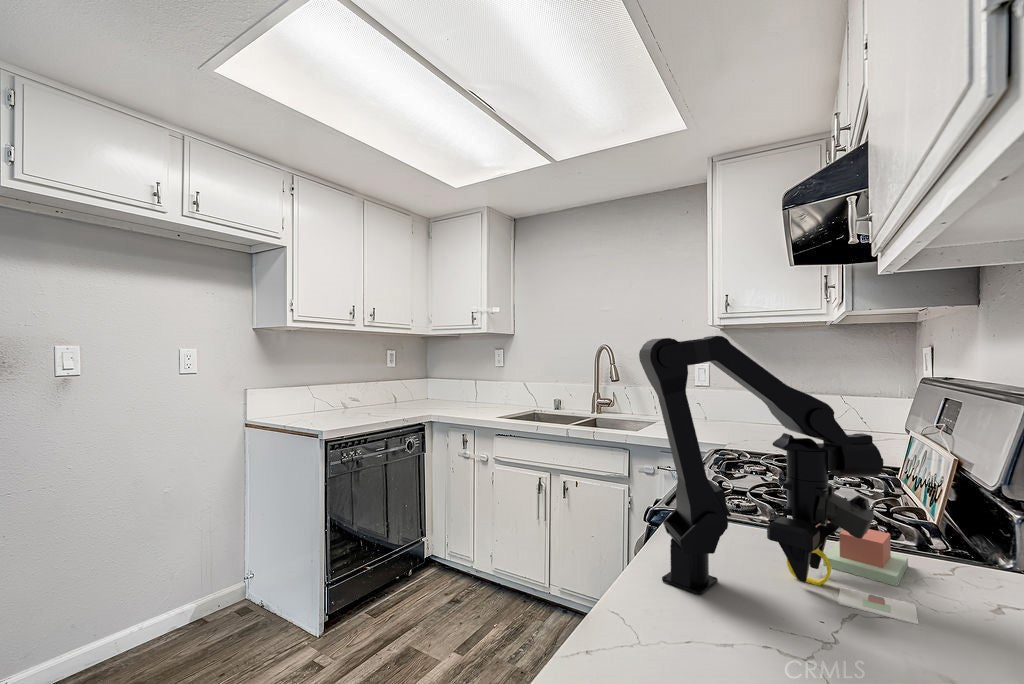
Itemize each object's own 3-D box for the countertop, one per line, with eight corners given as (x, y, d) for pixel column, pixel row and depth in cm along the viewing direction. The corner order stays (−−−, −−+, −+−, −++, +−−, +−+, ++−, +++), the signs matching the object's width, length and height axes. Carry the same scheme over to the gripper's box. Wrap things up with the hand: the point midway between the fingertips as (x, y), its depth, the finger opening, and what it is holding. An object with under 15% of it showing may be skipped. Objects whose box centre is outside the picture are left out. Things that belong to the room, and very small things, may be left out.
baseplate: (896, 586, 76) (896, 576, 76) (823, 565, 83) (823, 556, 83) (908, 566, 83) (907, 557, 83) (839, 548, 90) (838, 540, 90)
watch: (830, 585, 77) (833, 548, 77) (828, 592, 75) (830, 554, 75) (788, 571, 81) (790, 536, 81) (784, 577, 79) (787, 541, 78)
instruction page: (918, 624, 65) (918, 623, 65) (837, 603, 71) (837, 602, 71) (915, 605, 70) (915, 604, 70) (840, 587, 75) (840, 586, 75)
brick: (883, 568, 79) (882, 543, 79) (839, 556, 83) (839, 533, 83) (890, 557, 83) (890, 533, 83) (848, 546, 87) (848, 524, 87)
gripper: (852, 501, 66) (854, 617, 65) (881, 475, 78) (883, 572, 78) (765, 484, 74) (766, 587, 74) (804, 464, 86) (805, 551, 86)
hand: (808, 574), depth 78 cm, fingers open, 6 cm apart
